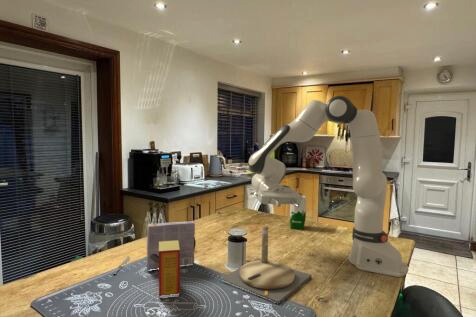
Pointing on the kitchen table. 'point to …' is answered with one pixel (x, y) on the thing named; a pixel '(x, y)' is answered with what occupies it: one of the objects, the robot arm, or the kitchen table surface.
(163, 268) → the baking soda box
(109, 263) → the kitchen table surface
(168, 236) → the cake pan box
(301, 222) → the milk carton
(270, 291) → the base plate
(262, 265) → the dial
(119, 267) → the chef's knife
